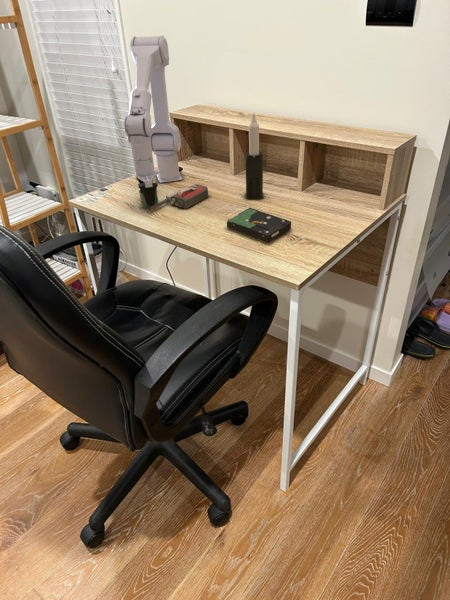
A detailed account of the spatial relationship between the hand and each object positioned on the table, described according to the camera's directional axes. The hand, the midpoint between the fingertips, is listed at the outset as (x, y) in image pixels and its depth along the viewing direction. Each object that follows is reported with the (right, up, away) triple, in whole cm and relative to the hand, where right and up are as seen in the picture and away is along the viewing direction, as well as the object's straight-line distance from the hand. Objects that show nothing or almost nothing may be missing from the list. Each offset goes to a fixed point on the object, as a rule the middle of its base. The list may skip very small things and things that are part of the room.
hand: (149, 201), depth 140 cm
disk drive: (+33, -11, -16) cm, 38 cm away
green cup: (0, -1, +1) cm, 1 cm away
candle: (+33, +2, +3) cm, 33 cm away
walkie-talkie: (+10, -1, +1) cm, 10 cm away
